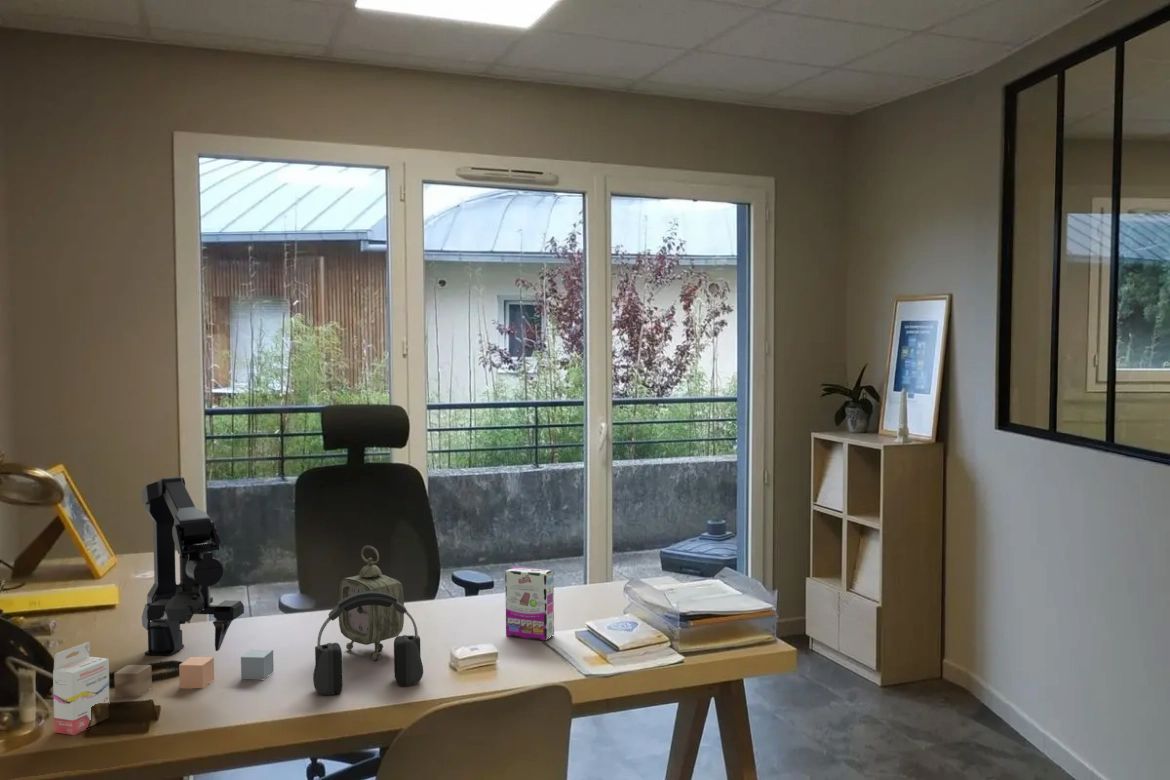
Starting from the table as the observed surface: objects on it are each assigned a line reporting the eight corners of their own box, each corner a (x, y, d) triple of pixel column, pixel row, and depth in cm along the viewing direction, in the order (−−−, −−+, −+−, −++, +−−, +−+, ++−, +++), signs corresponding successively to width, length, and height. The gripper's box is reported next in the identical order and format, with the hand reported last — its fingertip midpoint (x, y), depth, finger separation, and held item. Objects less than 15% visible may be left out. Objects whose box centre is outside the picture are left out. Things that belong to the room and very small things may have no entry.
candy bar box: (555, 635, 225) (554, 569, 224) (546, 641, 220) (546, 574, 219) (514, 630, 229) (513, 565, 228) (504, 636, 224) (504, 570, 223)
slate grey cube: (241, 680, 195) (240, 657, 195) (251, 671, 200) (250, 649, 200) (264, 680, 195) (263, 657, 195) (273, 672, 200) (273, 649, 200)
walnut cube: (114, 697, 186) (114, 673, 186) (128, 688, 191) (128, 664, 191) (138, 698, 186) (138, 673, 185) (152, 688, 191) (151, 665, 190)
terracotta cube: (179, 688, 191) (179, 664, 190) (191, 679, 196) (191, 656, 195) (202, 689, 190) (202, 665, 190) (214, 680, 195) (213, 657, 195)
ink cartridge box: (74, 736, 167) (72, 656, 166) (53, 733, 168) (50, 654, 168) (111, 718, 175) (109, 642, 175) (90, 715, 177) (88, 640, 176)
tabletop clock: (338, 650, 214) (336, 544, 213) (371, 641, 221) (370, 538, 220) (374, 664, 205) (372, 553, 204) (407, 654, 211) (406, 547, 210)
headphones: (314, 699, 185) (312, 601, 184) (312, 688, 191) (311, 593, 190) (424, 685, 192) (423, 591, 191) (420, 675, 198) (418, 583, 197)
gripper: (130, 586, 185) (132, 662, 185) (219, 587, 183) (221, 664, 184) (159, 572, 196) (161, 644, 197) (244, 573, 195) (245, 646, 195)
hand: (196, 650), depth 193 cm, fingers open, 9 cm apart
